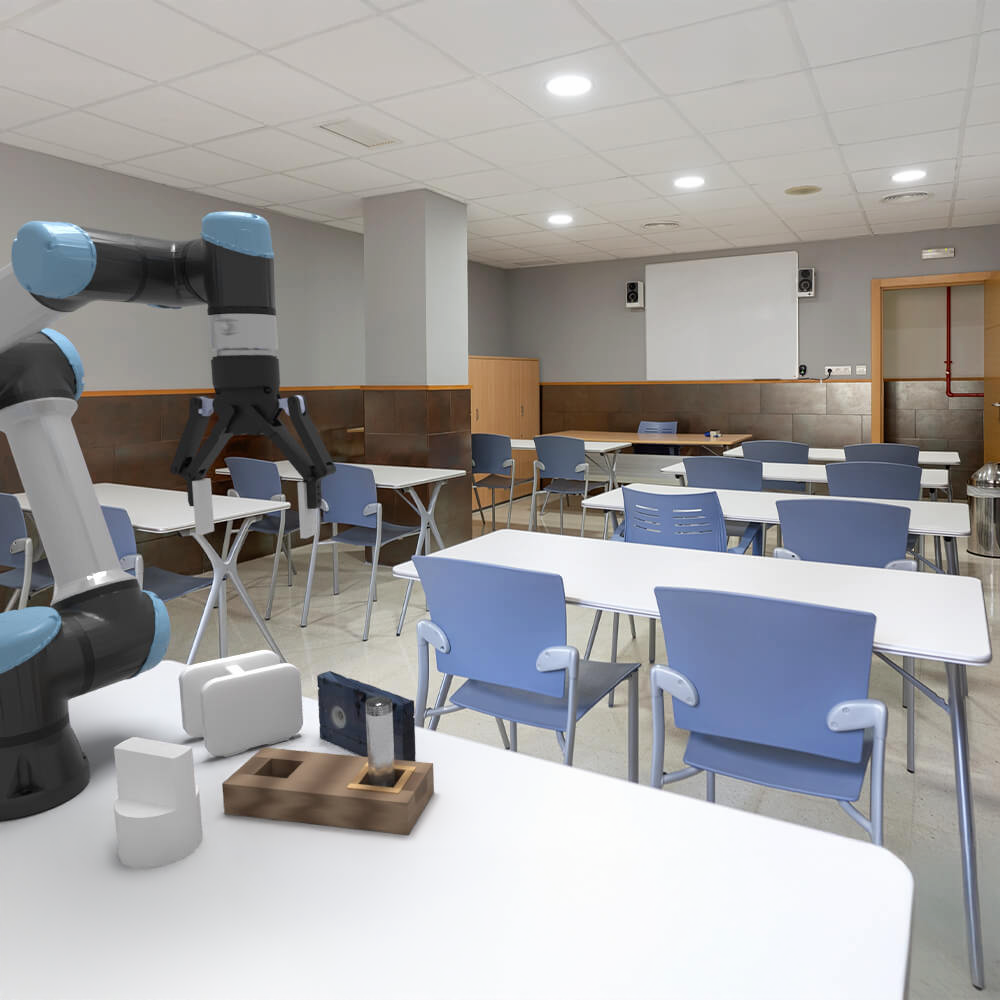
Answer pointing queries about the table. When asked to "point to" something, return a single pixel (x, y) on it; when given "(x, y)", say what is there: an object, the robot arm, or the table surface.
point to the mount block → (327, 791)
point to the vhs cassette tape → (361, 715)
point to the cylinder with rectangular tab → (156, 803)
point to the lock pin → (380, 742)
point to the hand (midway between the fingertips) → (256, 534)
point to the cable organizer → (241, 702)
